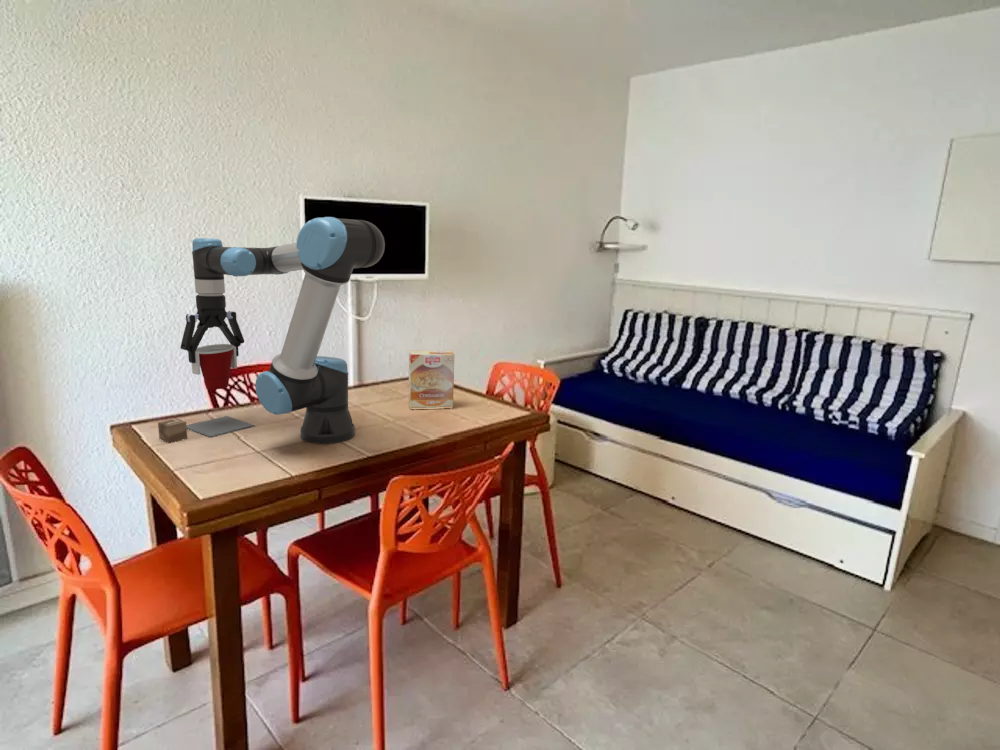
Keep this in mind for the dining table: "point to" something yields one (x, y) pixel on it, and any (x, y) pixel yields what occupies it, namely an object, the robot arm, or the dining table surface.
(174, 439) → the letter block
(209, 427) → the mat
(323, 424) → the robot arm
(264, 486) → the dining table surface
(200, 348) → the plastic cup
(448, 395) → the coffeecake box
